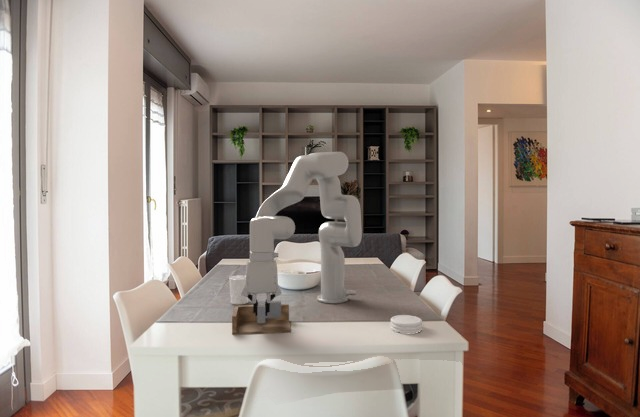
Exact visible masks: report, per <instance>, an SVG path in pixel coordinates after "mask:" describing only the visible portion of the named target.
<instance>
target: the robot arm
mask: <svg viewBox="0 0 640 417" xmlns="http://www.w3.org/2000/svg"><path fill="white" fill-rule="evenodd" d="M348 167H349V158H348V156H347V155H346V154H345V153H344V152H343V151H326V152H325V151H322V152H320V151H319V152H312V153H309V154H304V155H302V154H301V155H299V156H297V157H296V158H295V159H294V161H293V163H292V165H291V167H290V169H289V171H288V174H287V175H286V177H285V180H284V181H283V184H282V186H281V187H280V188H279V189H278V190H276V191H275V192H273V193H271V195H269V197H267V198H266V199H265V200H264V201H263V203H262V204H261V205H260V207H259V208H258V211H257V213H256V215H255V217H253V218H251V220H250V221H249V260H247V262H246V267H245V276H246V277H245V286H244V288H243V290H242V293H241V295H243V296H245V297H248V300H249V301H250V302H251V303H252V305H253V313H255V316H257V307H258V299H257V295H258V294H266V299H265V301H266V302H265V315H266V316H267V312H270V302H271V301H274V299H275V298H276V297H279V296H281V295H282V290H281V288H280V285H279V281H278V279H279V278H278V266H277V265H278V264H277V261H276V260H275V259H276V258H279V252H276V251H274V250H275V244H274V243H275V240H287V239H289V238H291V237H292V236H293V235H294V233H295V232H296V231H295V230H296V225H295V222H294V220H293V219H292V218H291V217H288V216H284V215H277V214H278V212H280V211H281V210H283V209H285V208H287V207H289V206H291V205H292V206H293V205H294V204H297V203H299V202H301V201H302V200H303V199H304V198H305V196H306V194H307V192H308V189H309V187H310V185H311V182H312V180H314V179H315V180H316V181H317V184H318V191H319V200H320V201H319V204H320V211H321V215H322V216H323V217H324V218H326V219H330V220H344V221H345V222H343V221H325V222H324V223H322V224H321V225H320V227H319V228H318V240H319V245H320V294H318V295H317V296H316V300H317V301H318V302H320V303H324V304H341V303H342V304H343V303H346V302H348V301H349V296H356V295H357V291H356V290H355V289H354V290H352V289H346V288H345V264H346V263H345V262H346V261H345V253H344V251H343V249H342V247H348V248H355V247H358V246H359V245H360V244H361V242H362V238H363V236H362V234H363V233H362V232H363V230H362V212H361V211H362V210H361V205H360V201H359V199H358V198H357V197H356V196H355V195H352V194H351V195H350V194H342V188H341V181H340V178H339V176H341V175H344V174H345V173H346V172H347V170H348Z"/></svg>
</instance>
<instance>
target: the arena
mask: <svg viewBox="0 0 640 417" xmlns="http://www.w3.org/2000/svg"><path fill="white" fill-rule="evenodd" d="M231 330H232V331H231V335H247V334H248V335H250V334H251V335H252V334H281V333H291V332H292V329H291V325H290V304H289V303H286V304H282V303H281V318H265V323H257V316H255V313H253V304H247V305H245V304H240V305H234V308H233V313H232V317H231Z"/></svg>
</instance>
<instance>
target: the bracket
mask: <svg viewBox="0 0 640 417" xmlns="http://www.w3.org/2000/svg"><path fill="white" fill-rule="evenodd" d="M257 302H258V307H257V323H265V318H281V304H282V300H272V301H271V302H270V312H267V316H266V315H265V302H266V300H257Z"/></svg>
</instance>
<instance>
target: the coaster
mask: <svg viewBox="0 0 640 417" xmlns="http://www.w3.org/2000/svg"><path fill="white" fill-rule="evenodd" d="M390 329H391V331H393V332H394V331H396V332H395V333H397V332H401V333H416V332H419V331H421V330H422V331H423V320H422V319H421V317H418V316H415V315H409V314H398V315H393V316H392V317H391V318H390ZM422 331H421V332H422ZM401 333H400V334H401Z"/></svg>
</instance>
